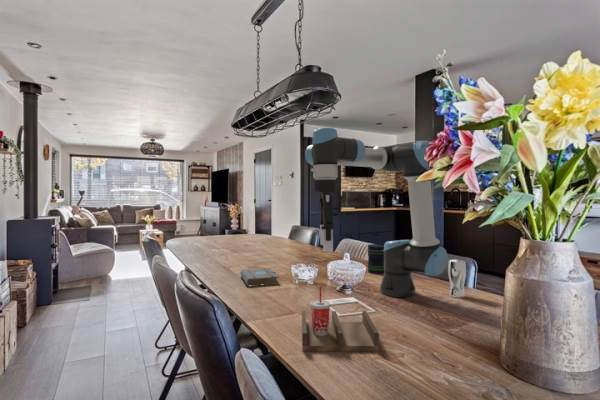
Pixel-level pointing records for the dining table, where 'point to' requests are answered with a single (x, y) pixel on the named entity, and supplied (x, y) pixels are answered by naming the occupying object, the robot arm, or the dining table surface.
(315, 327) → the beverage cup
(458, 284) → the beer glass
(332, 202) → the robot arm
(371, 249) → the storage jar
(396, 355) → the dining table surface
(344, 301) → the photo frame
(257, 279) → the book
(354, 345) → the divided wooden tray
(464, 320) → the dining table surface
